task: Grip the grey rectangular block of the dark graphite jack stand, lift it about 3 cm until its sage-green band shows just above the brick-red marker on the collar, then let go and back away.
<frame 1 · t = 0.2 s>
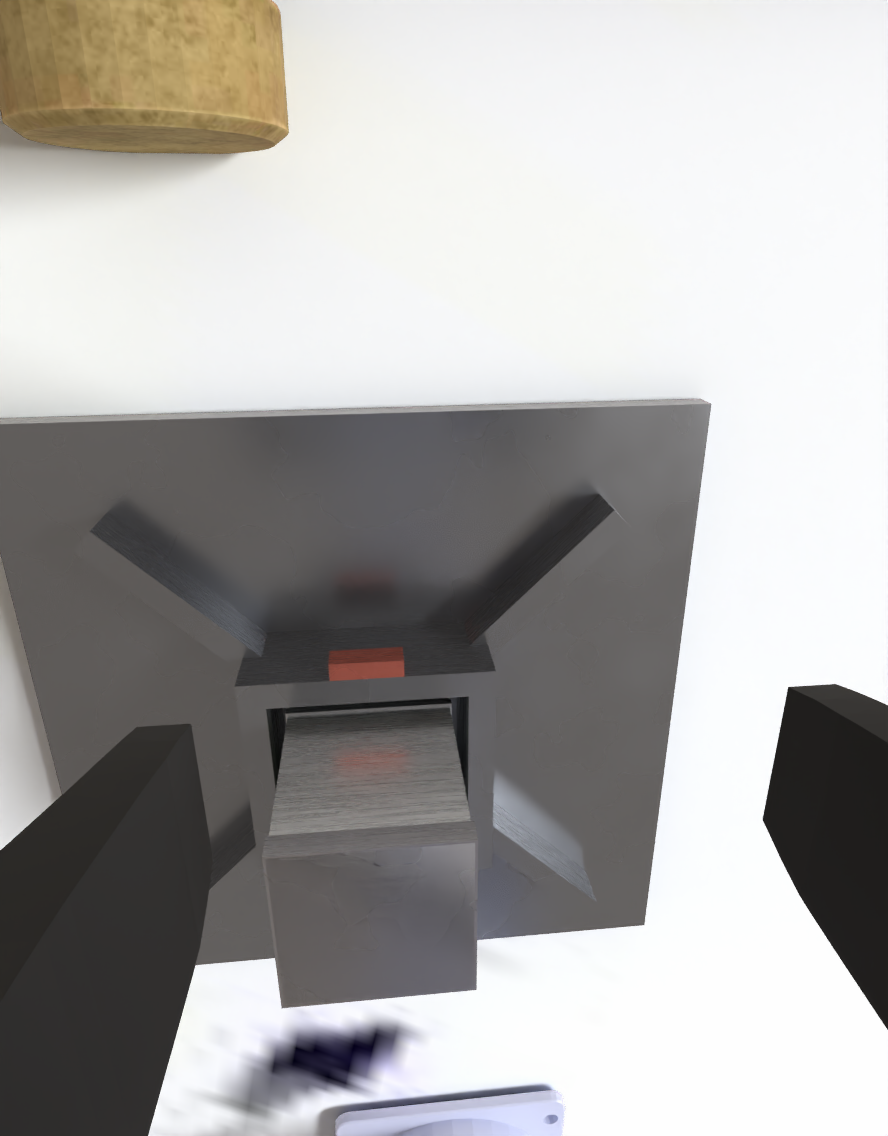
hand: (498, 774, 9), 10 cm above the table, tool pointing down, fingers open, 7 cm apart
grey rectangular block: (373, 807, 17), point 4 cm above the table, slide at 0.0 cm, touching stand base
stand base: (371, 710, 20), on the table
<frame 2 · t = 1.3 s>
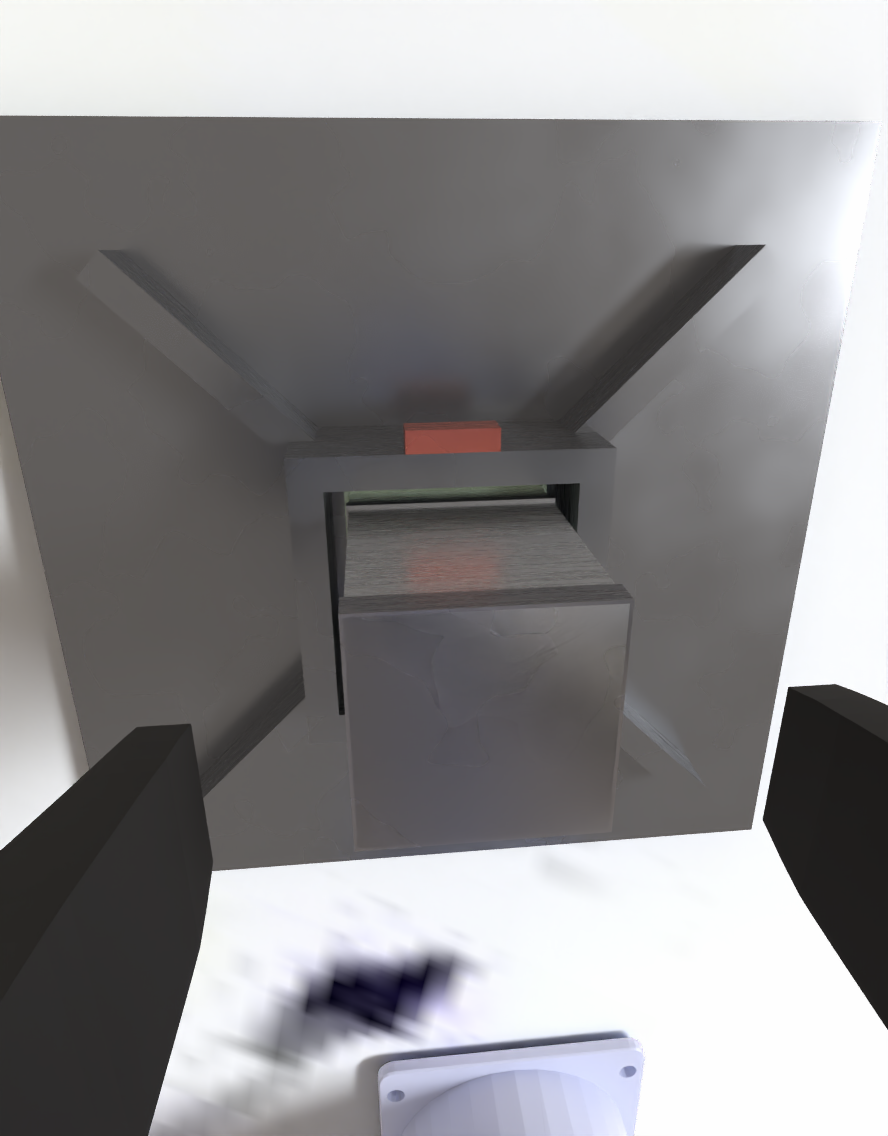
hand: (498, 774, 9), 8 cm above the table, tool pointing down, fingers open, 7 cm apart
grey rectangular block: (458, 624, 13), point 4 cm above the table, slide at 0.0 cm, touching stand base
stand base: (438, 545, 17), on the table
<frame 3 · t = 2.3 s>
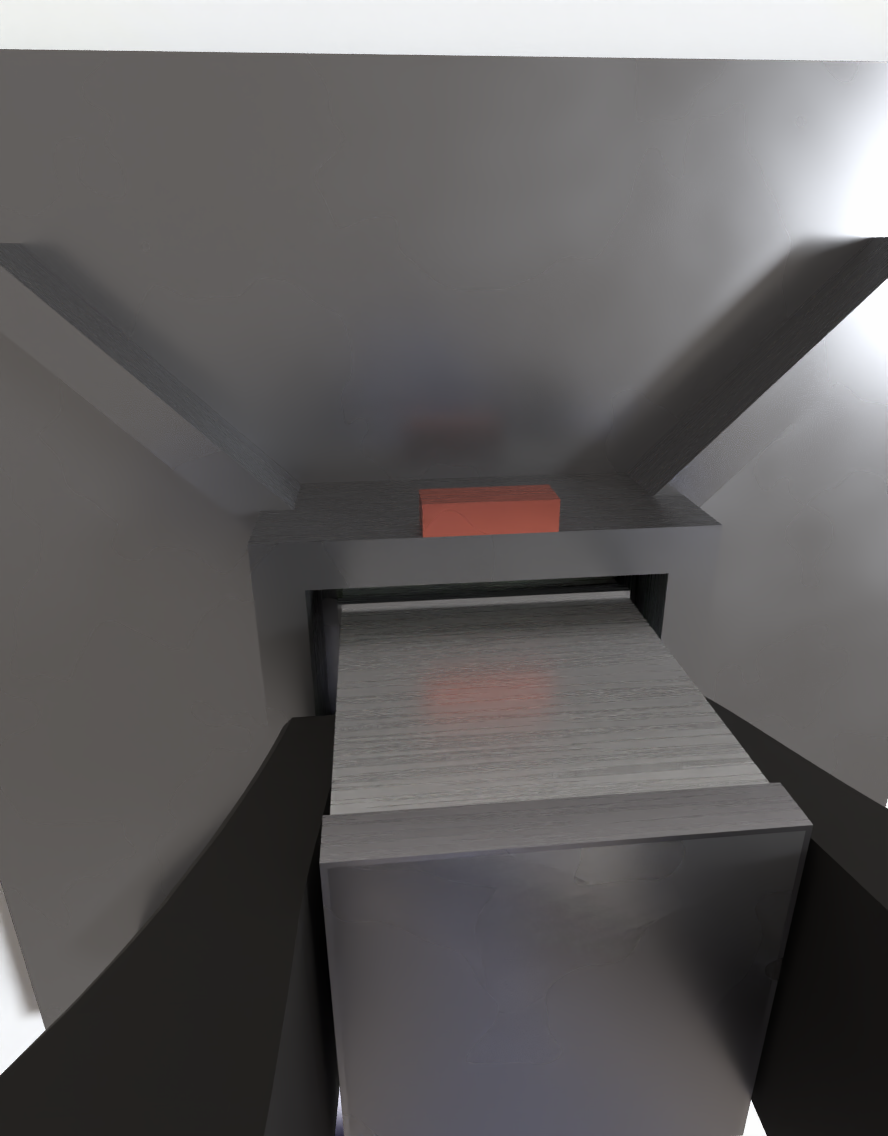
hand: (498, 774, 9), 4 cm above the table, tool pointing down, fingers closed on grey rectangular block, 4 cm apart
grey rectangular block: (497, 774, 9), point 4 cm above the table, slide at 0.0 cm, touching gripper, stand base
stand base: (460, 630, 13), on the table
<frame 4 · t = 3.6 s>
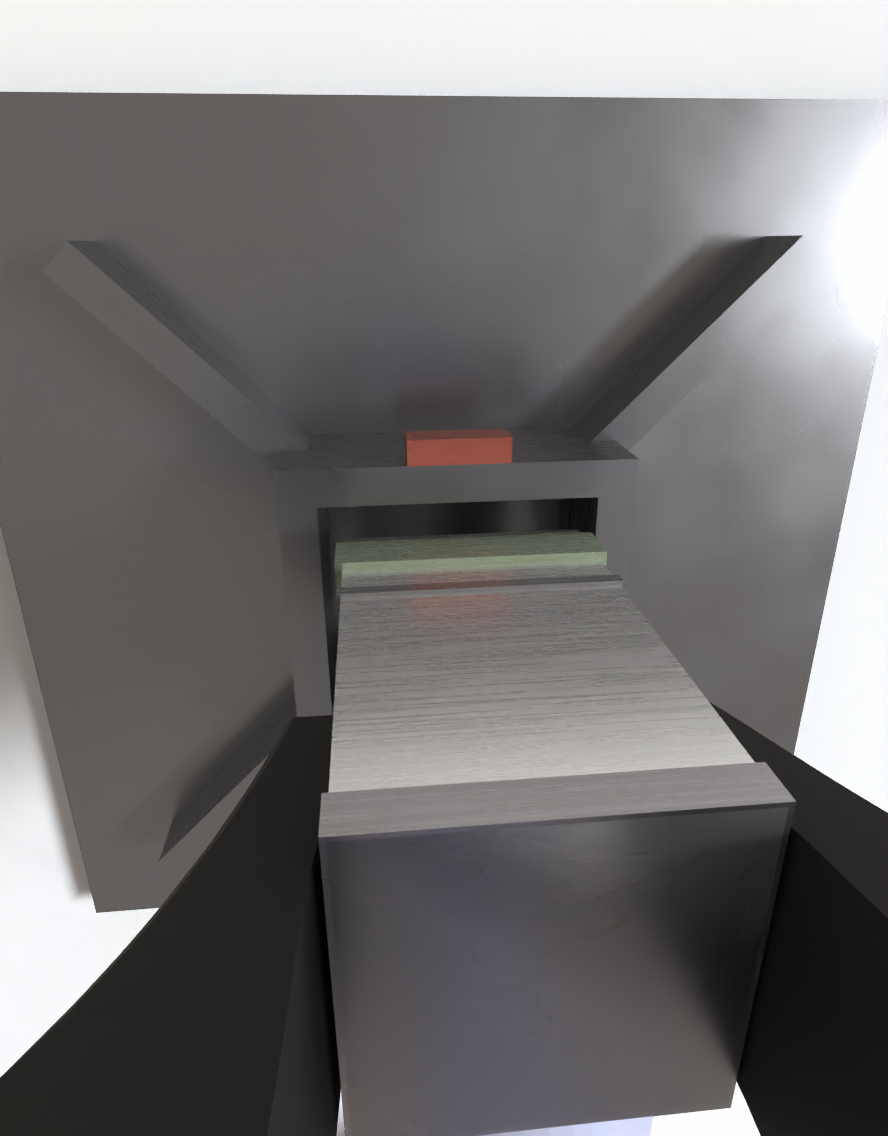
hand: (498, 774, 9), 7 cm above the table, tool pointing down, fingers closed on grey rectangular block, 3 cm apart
grey rectangular block: (493, 759, 9), point 7 cm above the table, slide at 2.7 cm, touching gripper
stand base: (442, 560, 15), on the table
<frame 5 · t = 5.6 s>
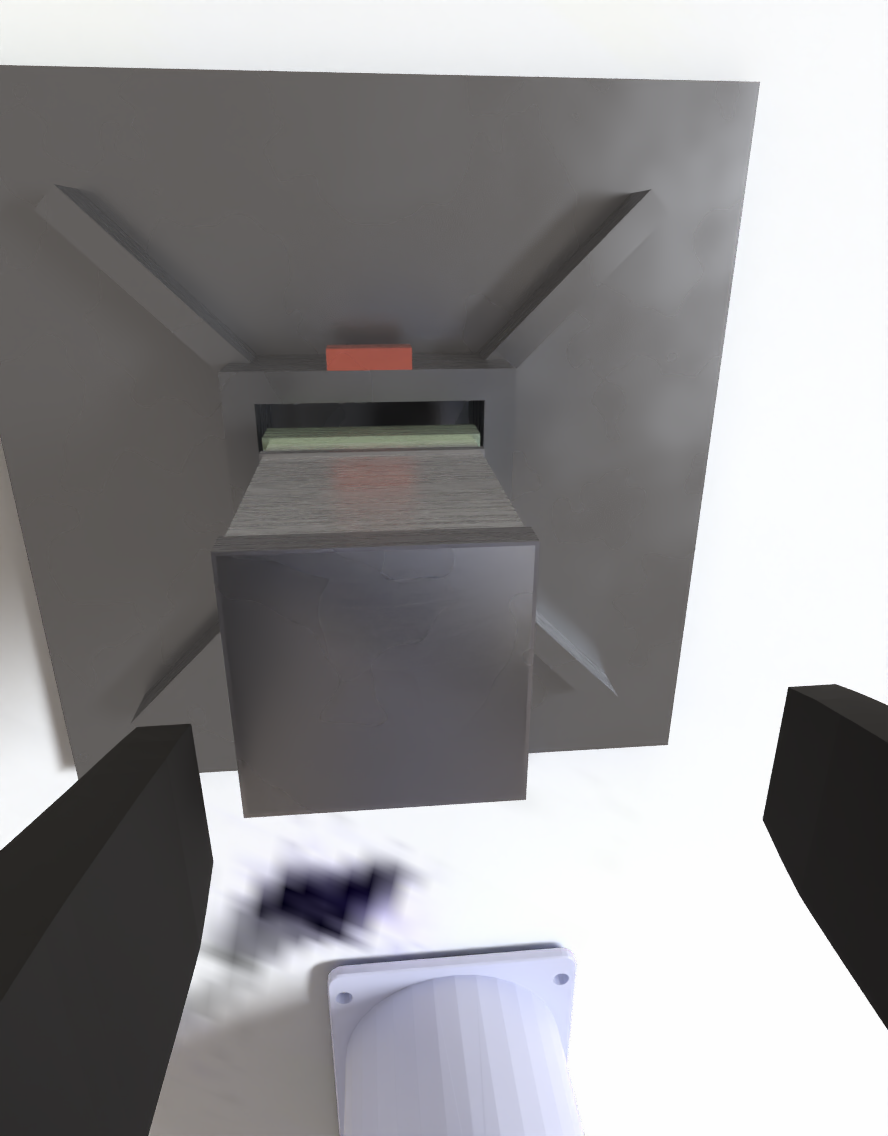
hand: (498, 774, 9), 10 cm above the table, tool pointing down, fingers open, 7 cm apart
grey rectangular block: (378, 581, 12), point 7 cm above the table, slide at 2.7 cm
stand base: (372, 471, 18), on the table
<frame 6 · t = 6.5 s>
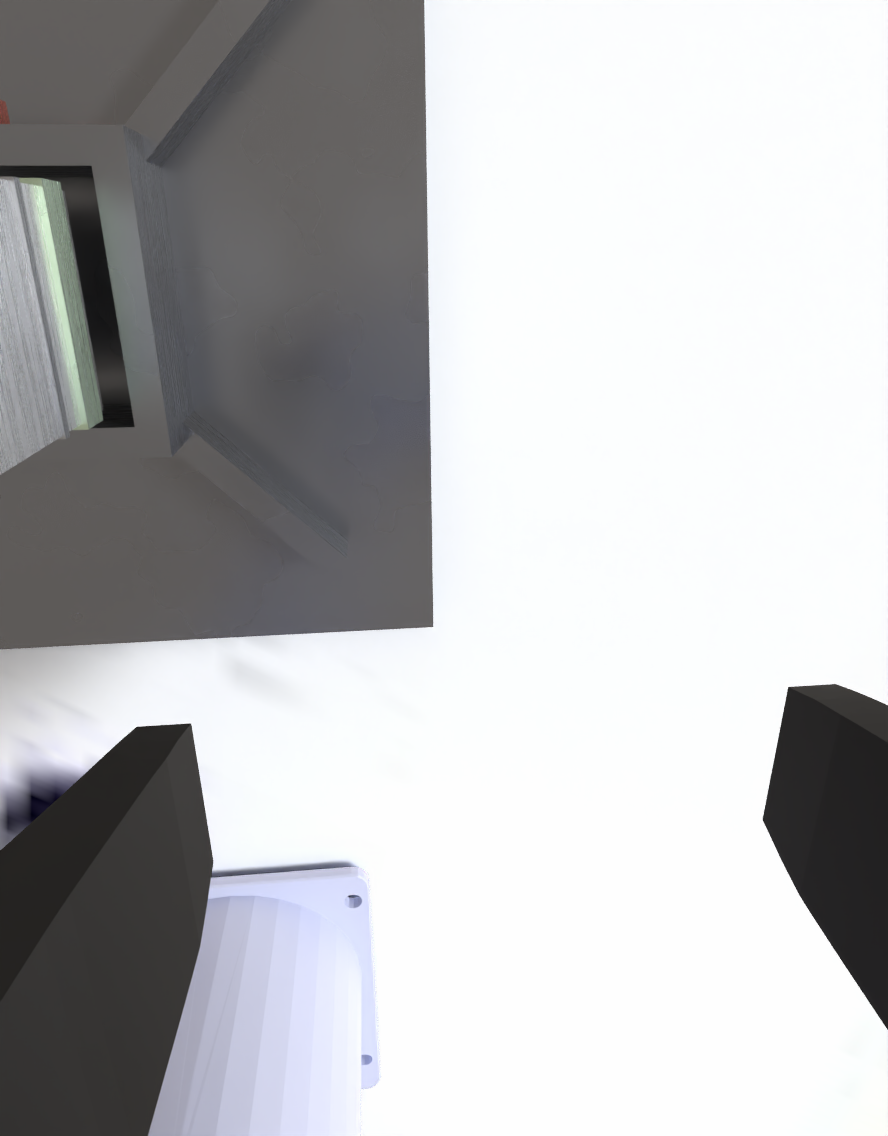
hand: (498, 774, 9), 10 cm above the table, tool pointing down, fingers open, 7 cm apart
stand base: (49, 296, 16), on the table
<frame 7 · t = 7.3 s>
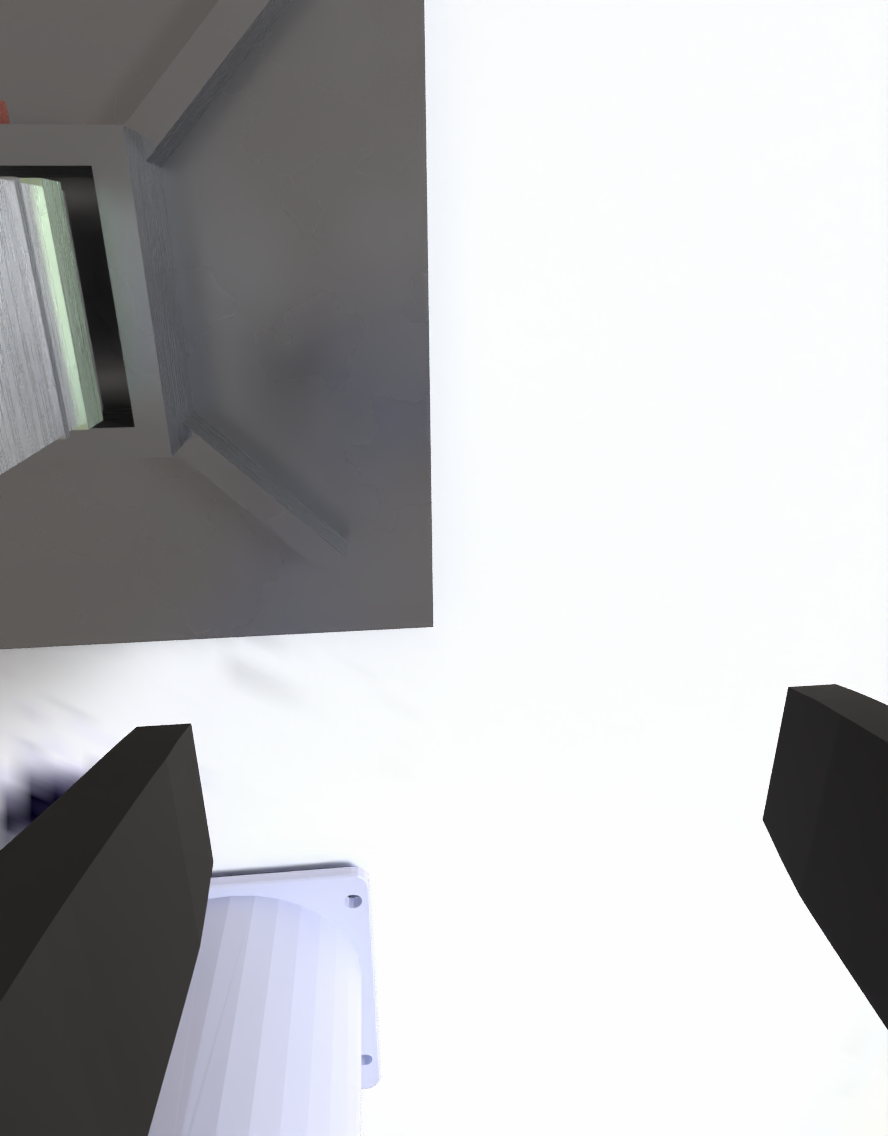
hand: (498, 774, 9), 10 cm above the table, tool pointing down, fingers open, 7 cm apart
stand base: (49, 296, 16), on the table
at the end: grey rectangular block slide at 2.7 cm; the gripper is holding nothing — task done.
